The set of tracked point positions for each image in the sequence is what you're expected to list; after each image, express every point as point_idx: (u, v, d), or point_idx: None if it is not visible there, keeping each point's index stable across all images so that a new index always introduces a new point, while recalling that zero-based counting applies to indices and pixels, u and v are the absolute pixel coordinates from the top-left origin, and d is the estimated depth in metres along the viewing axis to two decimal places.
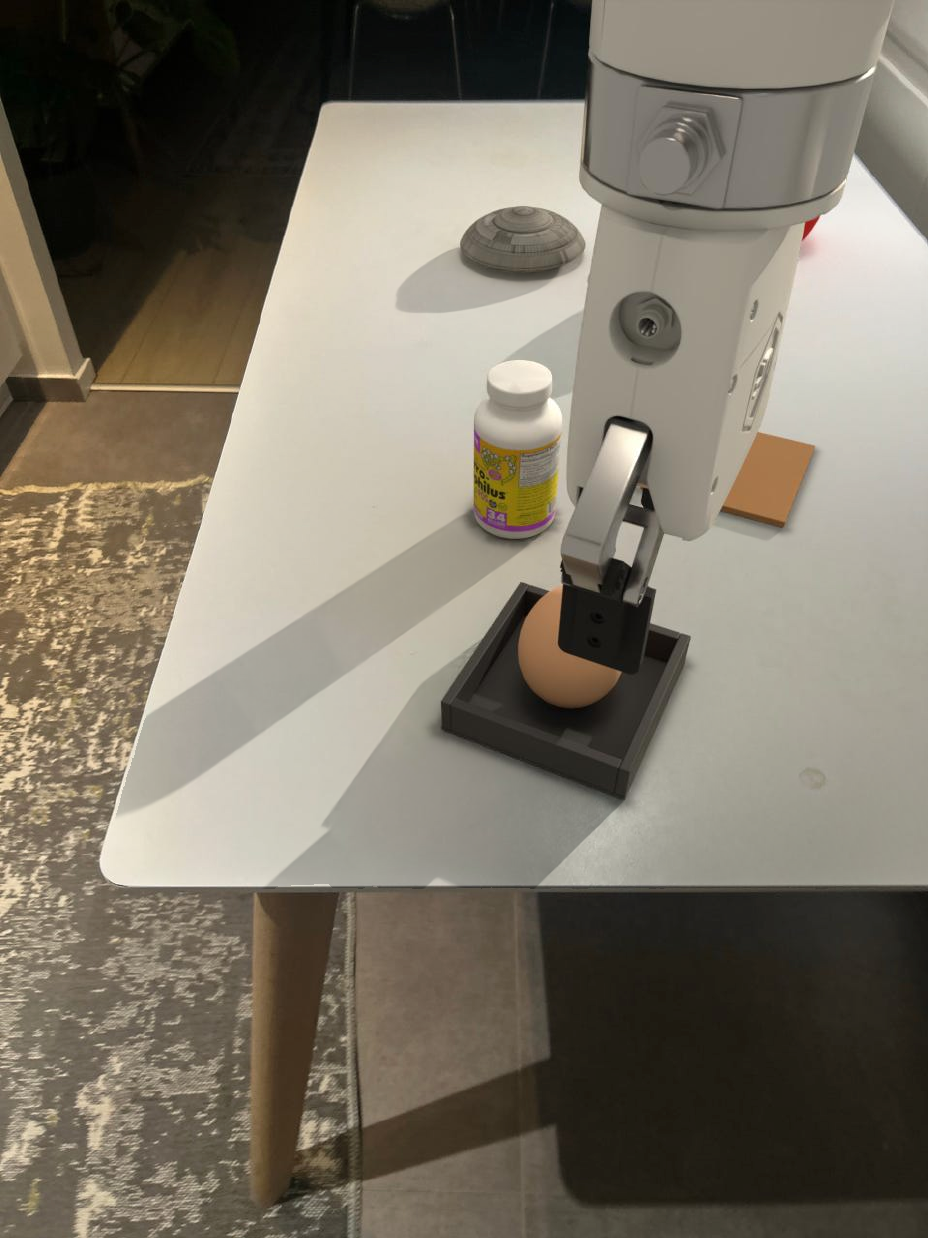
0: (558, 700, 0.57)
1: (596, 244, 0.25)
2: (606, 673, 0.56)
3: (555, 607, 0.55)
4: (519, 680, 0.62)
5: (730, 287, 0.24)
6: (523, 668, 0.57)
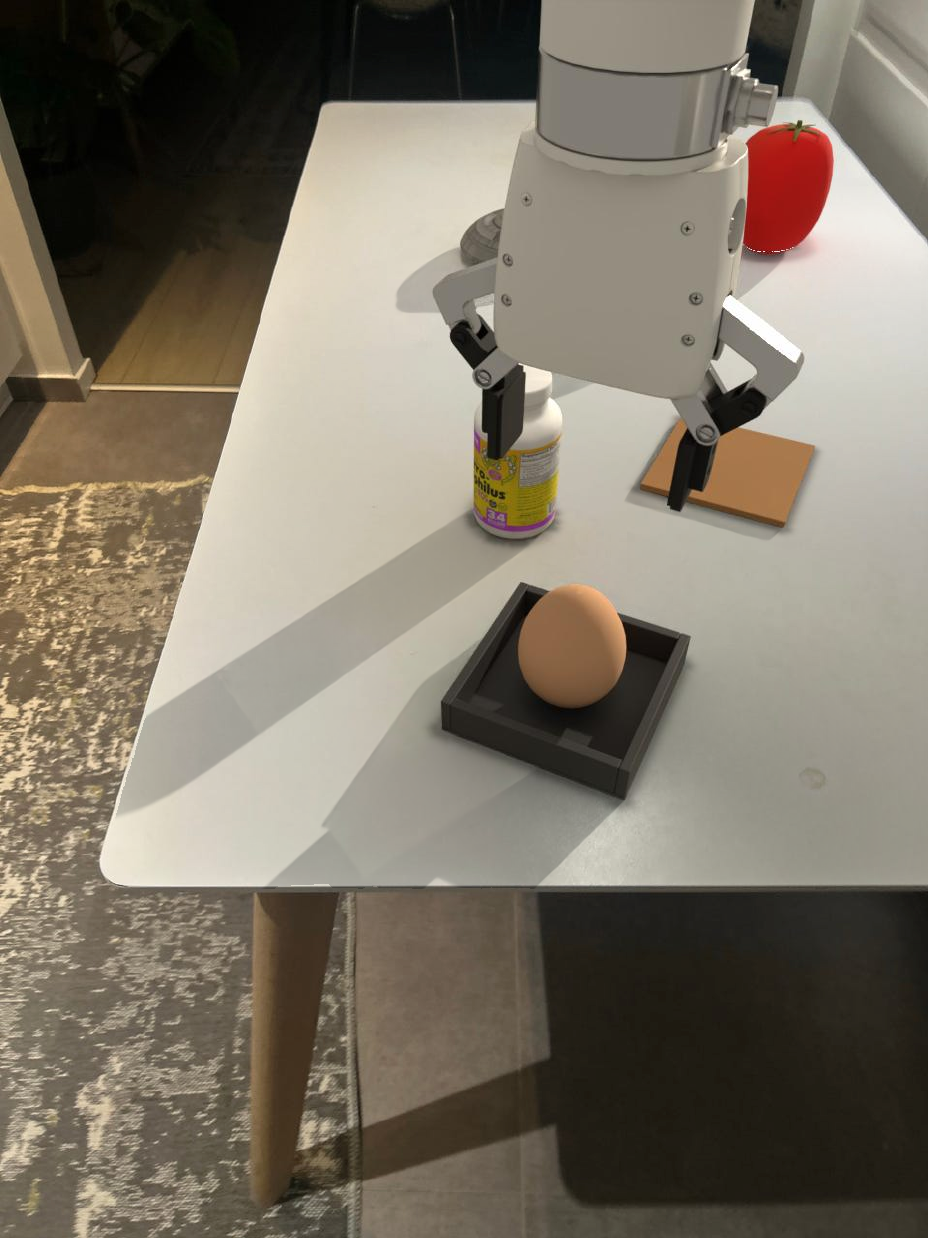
0: (558, 700, 0.57)
1: (711, 194, 0.34)
2: (606, 674, 0.56)
3: (555, 607, 0.55)
4: (519, 680, 0.62)
5: None
6: (523, 668, 0.57)
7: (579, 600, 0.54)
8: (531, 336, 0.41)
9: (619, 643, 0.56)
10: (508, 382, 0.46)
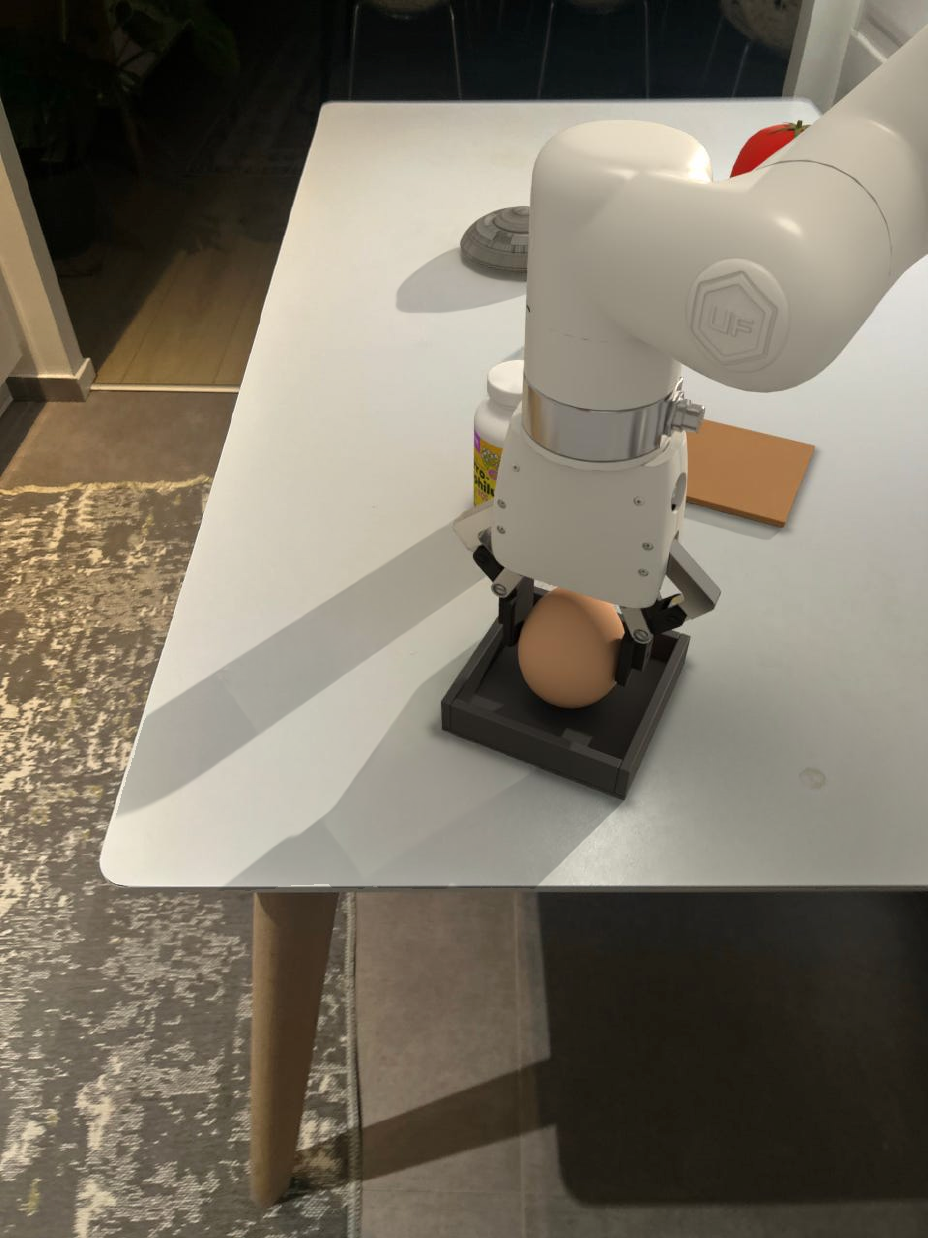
0: (558, 700, 0.57)
1: (655, 480, 0.45)
2: (606, 674, 0.56)
3: (555, 607, 0.55)
4: (519, 680, 0.62)
5: None
6: (523, 668, 0.57)
7: (579, 600, 0.54)
8: (521, 556, 0.52)
9: (619, 643, 0.56)
10: (520, 590, 0.56)
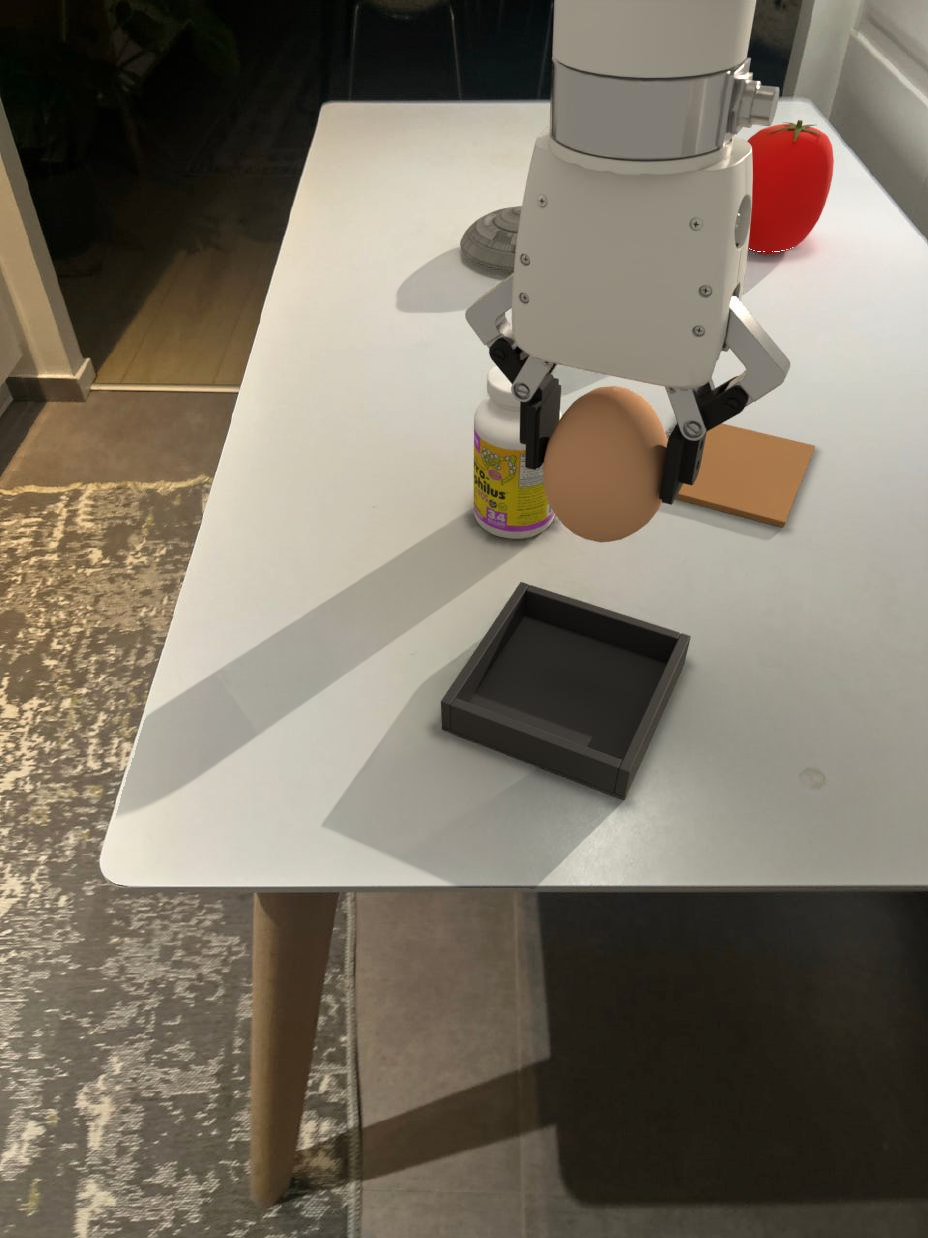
0: (591, 526, 0.48)
1: (718, 191, 0.36)
2: (649, 488, 0.47)
3: (588, 407, 0.46)
4: (519, 680, 0.62)
5: None
6: (550, 491, 0.49)
7: (616, 397, 0.46)
8: (548, 332, 0.43)
9: (664, 453, 0.47)
10: (545, 395, 0.48)
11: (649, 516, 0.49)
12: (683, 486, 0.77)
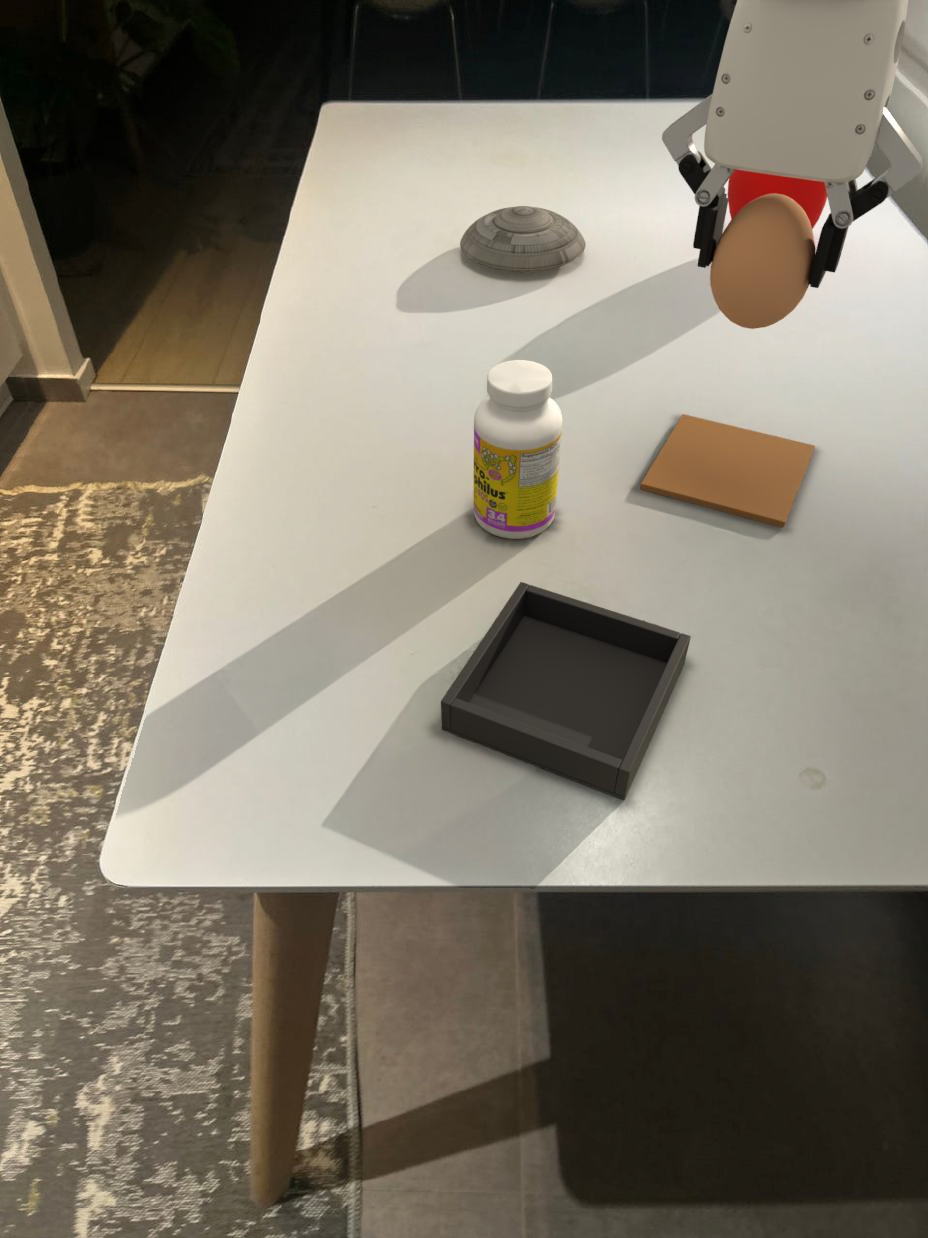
0: (753, 307, 0.62)
1: (888, 12, 0.50)
2: (801, 273, 0.61)
3: (757, 207, 0.60)
4: (519, 680, 0.62)
5: None
6: (719, 280, 0.62)
7: (780, 198, 0.59)
8: (736, 139, 0.57)
9: (813, 246, 0.61)
10: (719, 202, 0.61)
11: (797, 300, 0.62)
12: (683, 486, 0.77)
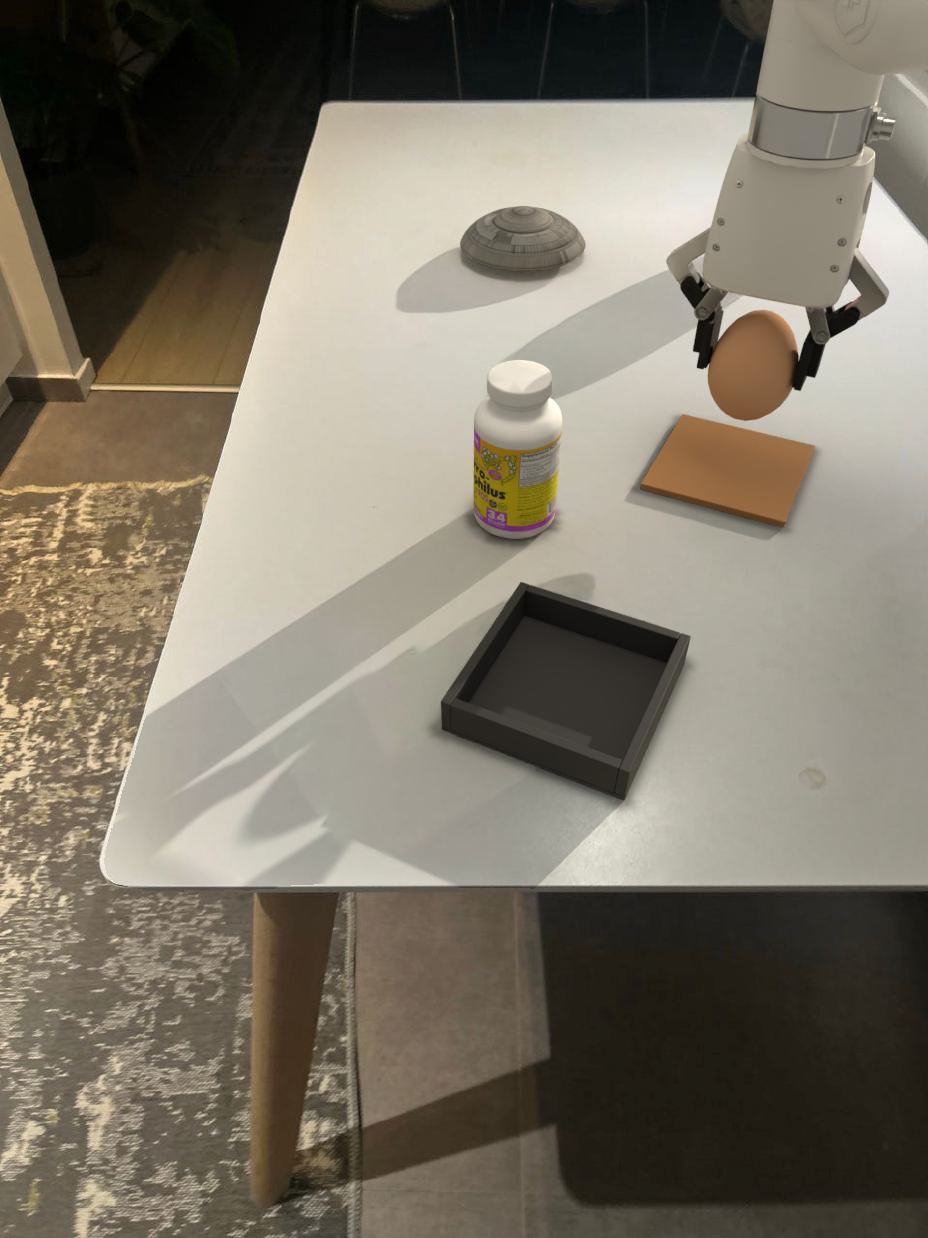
0: (744, 406, 0.71)
1: (856, 179, 0.59)
2: (786, 379, 0.70)
3: (748, 323, 0.69)
4: (519, 680, 0.62)
5: None
6: (715, 382, 0.72)
7: (768, 316, 0.69)
8: (730, 270, 0.66)
9: (796, 355, 0.70)
10: (715, 316, 0.71)
11: (783, 400, 0.72)
12: (683, 486, 0.77)
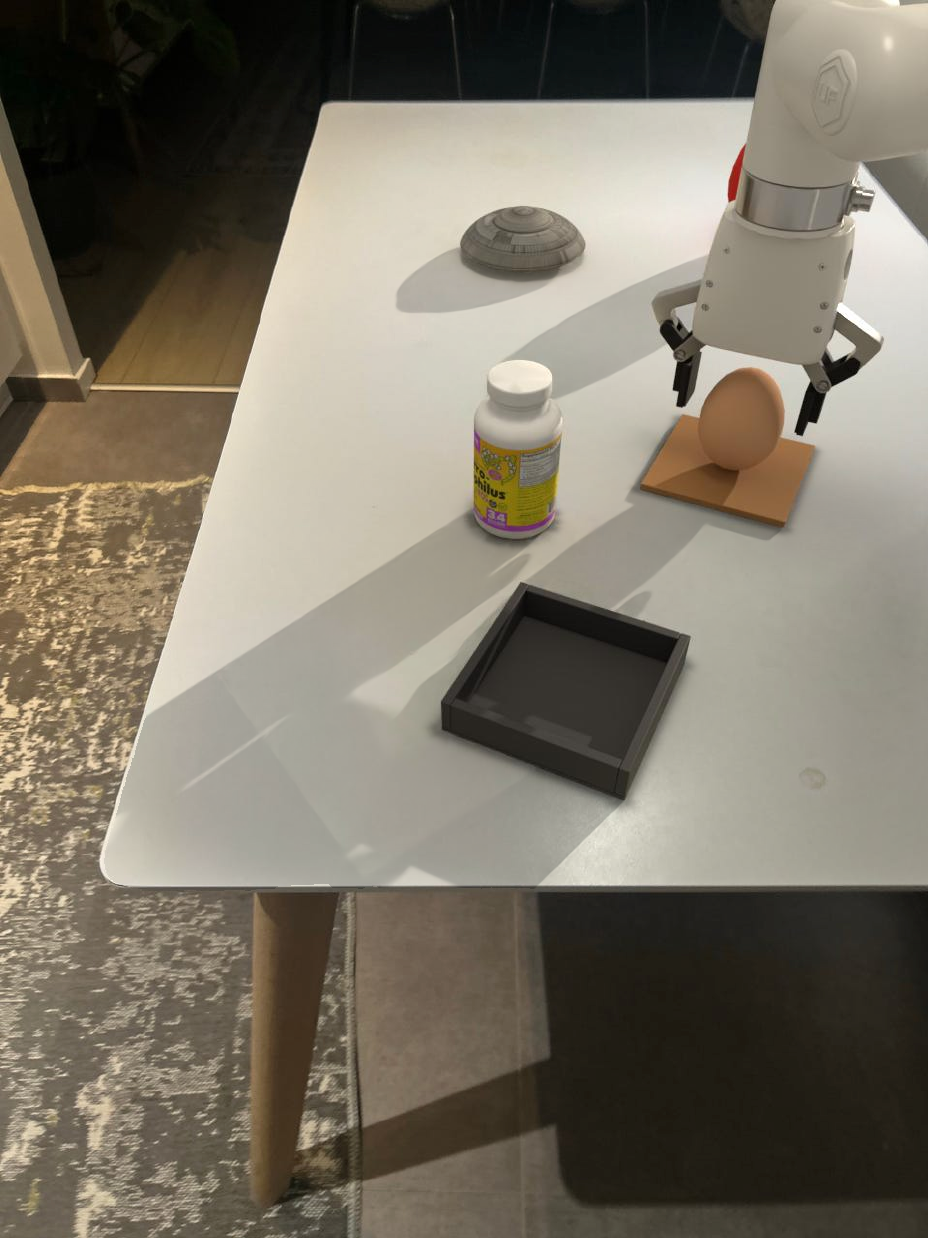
0: (733, 458, 0.75)
1: (837, 248, 0.62)
2: (773, 433, 0.73)
3: (736, 380, 0.73)
4: (519, 680, 0.62)
5: None
6: (705, 435, 0.75)
7: (755, 374, 0.72)
8: (718, 328, 0.69)
9: (782, 410, 0.74)
10: (694, 358, 0.74)
11: (769, 452, 0.75)
12: (683, 486, 0.77)
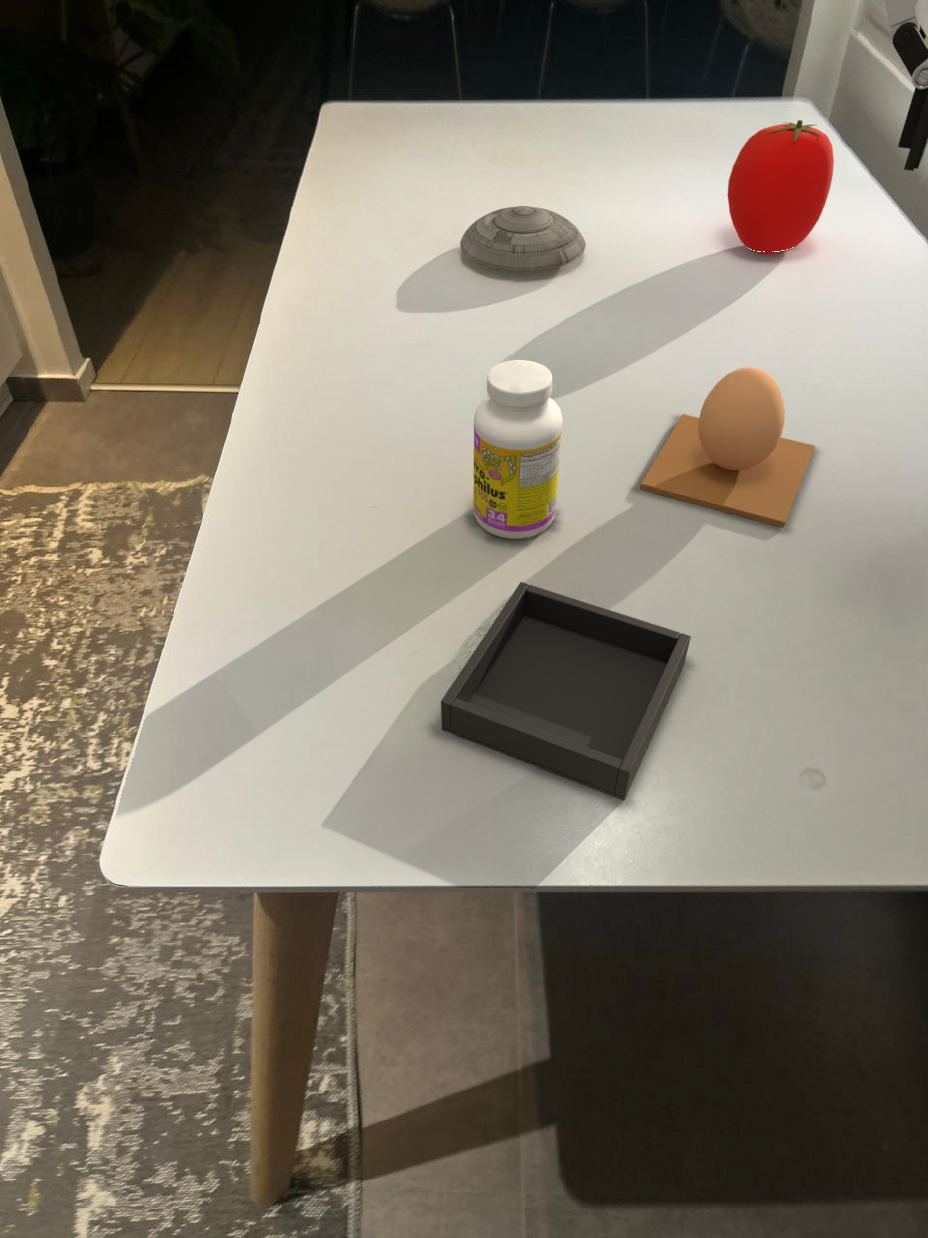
0: (733, 458, 0.75)
1: None
2: (773, 433, 0.73)
3: (736, 380, 0.73)
4: (519, 680, 0.62)
5: None
6: (705, 435, 0.75)
7: (755, 374, 0.72)
8: None
9: (782, 410, 0.74)
10: None
11: (769, 452, 0.75)
12: (683, 486, 0.77)
